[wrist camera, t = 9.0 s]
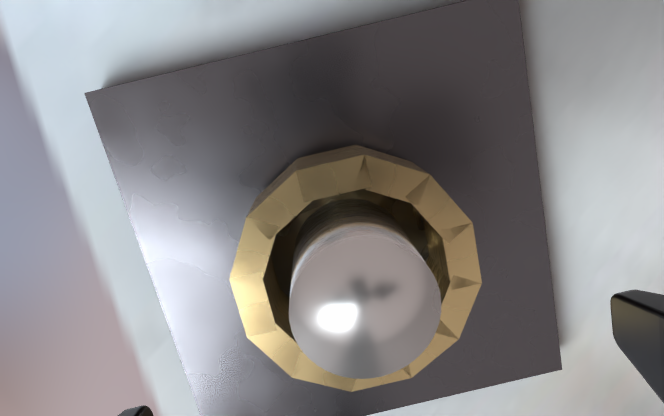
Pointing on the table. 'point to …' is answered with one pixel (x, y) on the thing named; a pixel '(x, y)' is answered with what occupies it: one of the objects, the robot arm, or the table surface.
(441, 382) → the piston stand
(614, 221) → the table surface
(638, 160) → the table surface
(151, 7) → the table surface
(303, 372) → the ring
